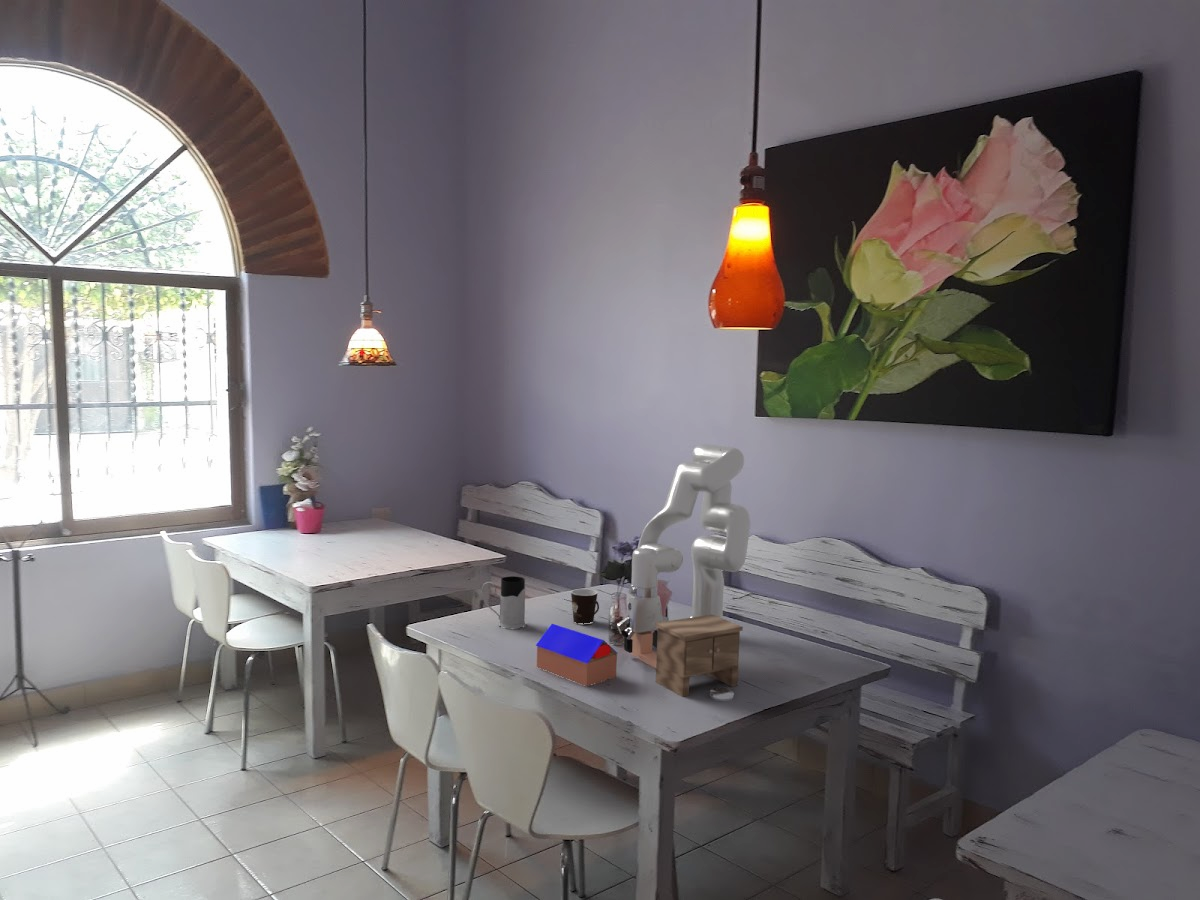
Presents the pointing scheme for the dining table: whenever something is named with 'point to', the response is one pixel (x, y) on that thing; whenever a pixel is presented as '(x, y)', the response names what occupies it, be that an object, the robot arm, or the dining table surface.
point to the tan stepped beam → (644, 648)
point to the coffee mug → (584, 605)
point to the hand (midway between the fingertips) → (642, 649)
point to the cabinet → (696, 651)
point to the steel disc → (721, 694)
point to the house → (576, 656)
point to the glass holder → (511, 602)
